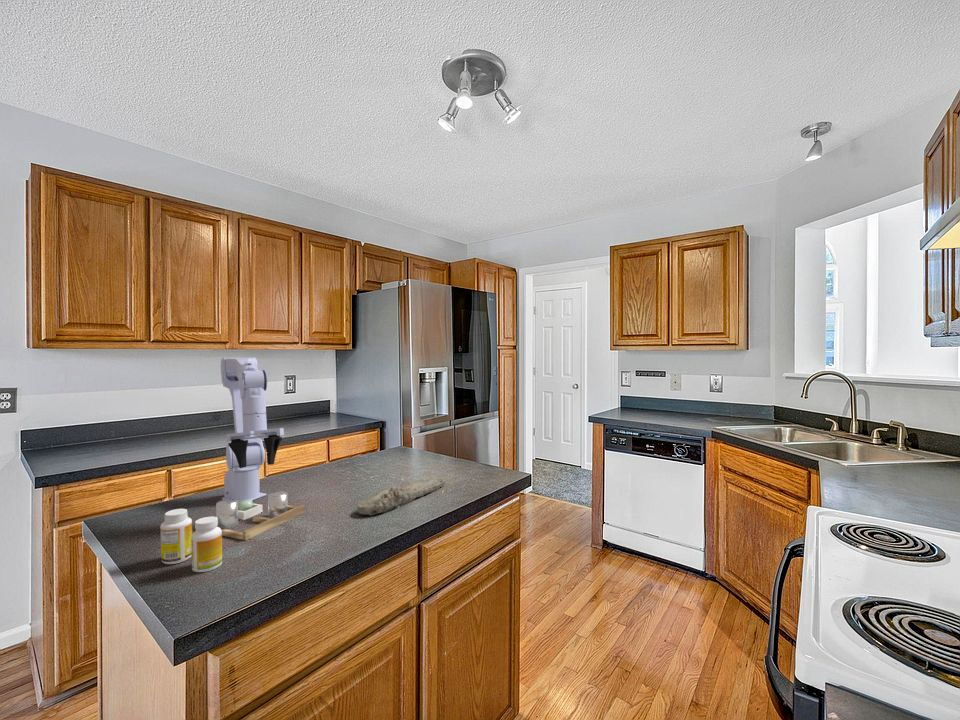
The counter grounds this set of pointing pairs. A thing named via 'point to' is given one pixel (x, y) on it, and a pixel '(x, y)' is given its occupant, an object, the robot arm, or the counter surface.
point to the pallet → (265, 523)
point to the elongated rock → (398, 496)
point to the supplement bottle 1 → (176, 537)
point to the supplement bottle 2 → (206, 545)
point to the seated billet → (277, 503)
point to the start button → (245, 505)
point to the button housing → (250, 512)
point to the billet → (227, 513)
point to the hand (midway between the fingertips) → (256, 466)
